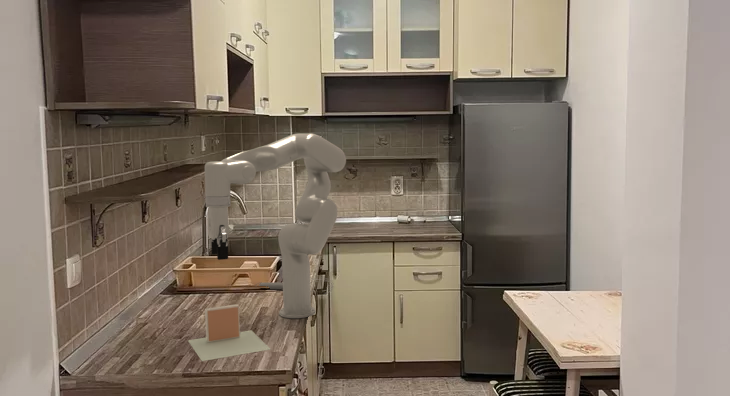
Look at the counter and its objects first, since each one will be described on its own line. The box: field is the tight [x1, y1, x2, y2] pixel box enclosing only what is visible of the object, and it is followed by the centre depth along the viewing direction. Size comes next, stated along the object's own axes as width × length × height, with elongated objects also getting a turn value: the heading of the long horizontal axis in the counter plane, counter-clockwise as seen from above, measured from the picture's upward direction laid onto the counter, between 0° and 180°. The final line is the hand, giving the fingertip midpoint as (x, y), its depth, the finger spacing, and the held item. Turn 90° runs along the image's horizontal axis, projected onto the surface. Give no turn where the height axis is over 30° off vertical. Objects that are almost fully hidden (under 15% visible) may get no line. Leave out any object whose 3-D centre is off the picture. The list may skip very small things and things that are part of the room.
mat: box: [187, 329, 271, 362], centre depth 196 cm, size 20×20×1 cm
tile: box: [204, 303, 241, 342], centre depth 201 cm, size 2×10×10 cm, turn 116°
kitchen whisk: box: [255, 277, 334, 295], centre depth 260 cm, size 6×34×6 cm, turn 71°
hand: (219, 256), depth 204 cm, fingers open, 9 cm apart
